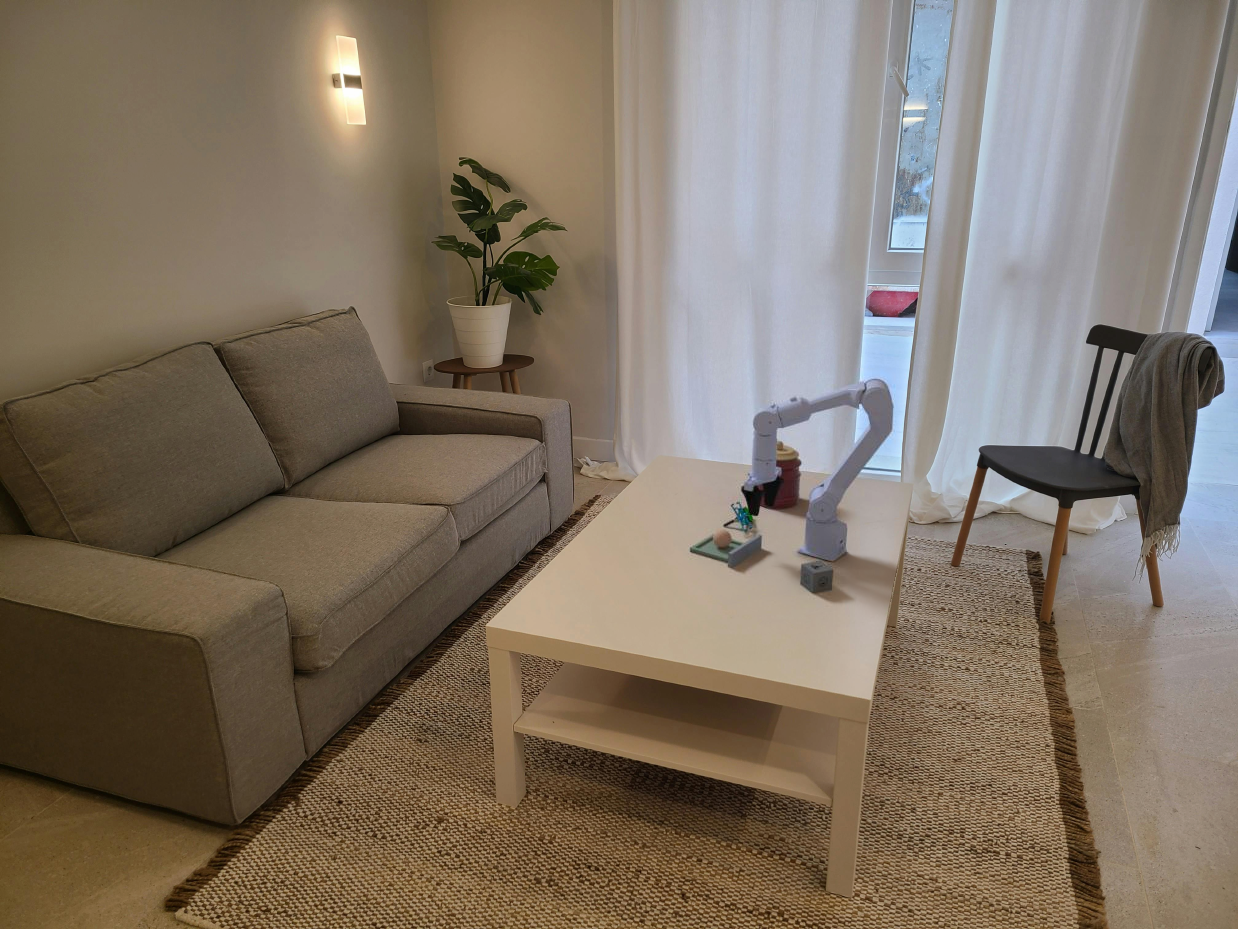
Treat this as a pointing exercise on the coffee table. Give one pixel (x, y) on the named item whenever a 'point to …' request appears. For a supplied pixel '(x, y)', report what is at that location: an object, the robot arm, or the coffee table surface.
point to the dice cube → (816, 577)
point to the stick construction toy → (741, 516)
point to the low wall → (744, 550)
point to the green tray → (714, 549)
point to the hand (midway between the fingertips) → (761, 510)
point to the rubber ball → (722, 538)
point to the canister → (786, 477)
